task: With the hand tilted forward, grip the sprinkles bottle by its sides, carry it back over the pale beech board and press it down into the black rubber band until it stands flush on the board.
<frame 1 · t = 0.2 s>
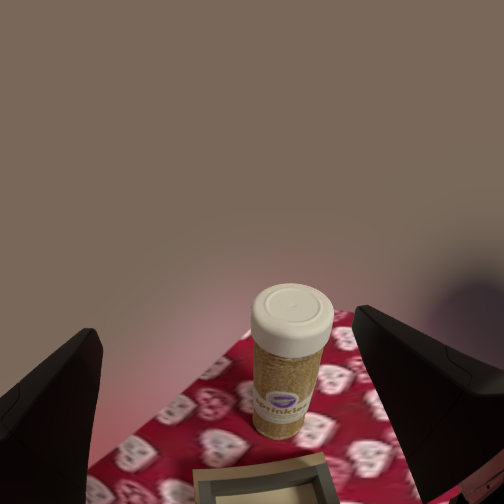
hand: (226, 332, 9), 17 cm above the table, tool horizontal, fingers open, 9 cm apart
sprinkles bottle: (278, 420, 22), on the table
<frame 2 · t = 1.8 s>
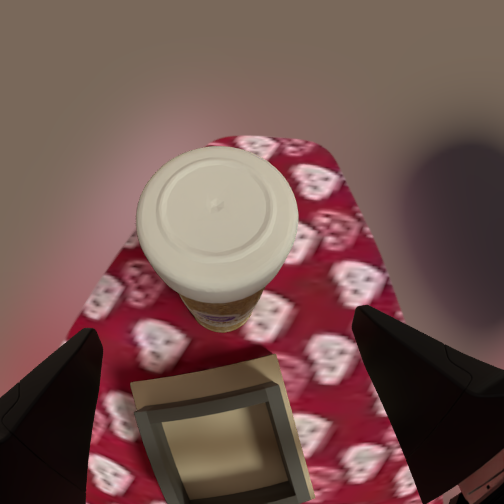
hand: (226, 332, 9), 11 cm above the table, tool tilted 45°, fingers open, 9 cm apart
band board: (224, 447, 16), on the table
sprinkles bottle: (222, 301, 20), on the table
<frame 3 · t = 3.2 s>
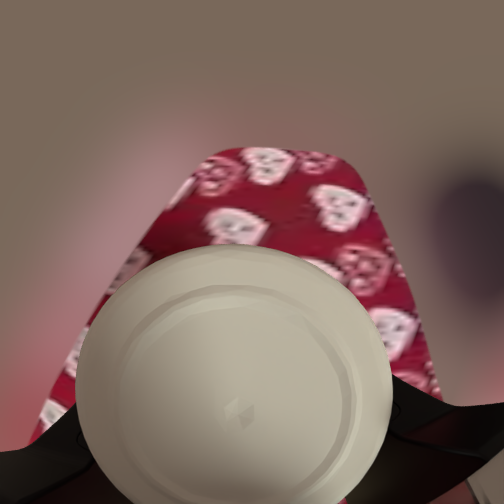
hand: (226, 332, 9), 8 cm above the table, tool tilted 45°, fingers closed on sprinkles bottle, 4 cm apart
sprinkles bottle: (229, 364, 16), on the table, touching gripper
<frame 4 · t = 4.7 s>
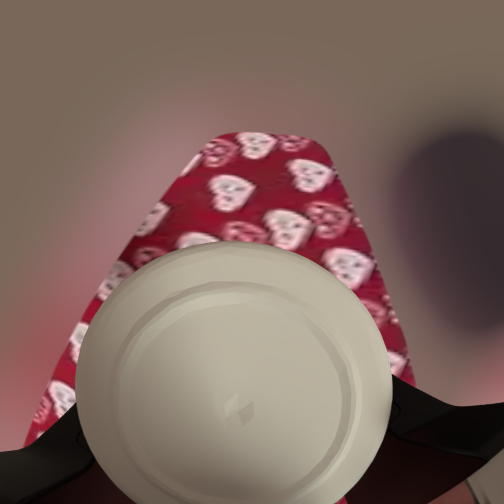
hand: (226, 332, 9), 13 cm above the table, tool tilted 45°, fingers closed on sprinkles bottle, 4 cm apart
sprinkles bottle: (229, 363, 16), point 5 cm above the table, touching gripper
when the fingers open (9 cm above the table, at t = 6.3 s): sprinkles bottle stays where it is, resting on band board.
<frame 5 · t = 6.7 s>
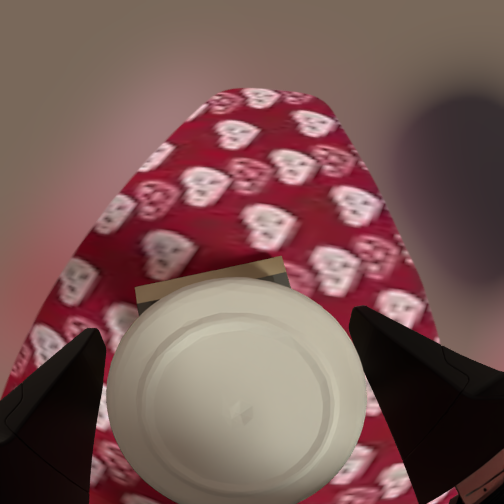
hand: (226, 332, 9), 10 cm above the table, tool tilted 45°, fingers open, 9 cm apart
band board: (229, 362, 17), on the table
sprinkles bottle: (229, 366, 16), point 1 cm above the table, touching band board
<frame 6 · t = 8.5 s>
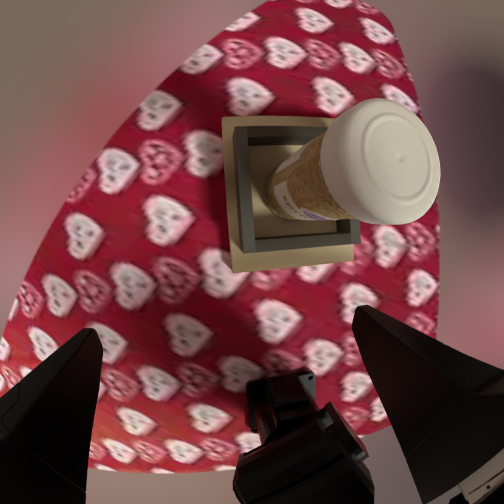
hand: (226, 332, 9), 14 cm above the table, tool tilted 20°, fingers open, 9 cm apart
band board: (288, 190, 22), on the table
sprinkles bottle: (291, 191, 21), point 1 cm above the table, touching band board
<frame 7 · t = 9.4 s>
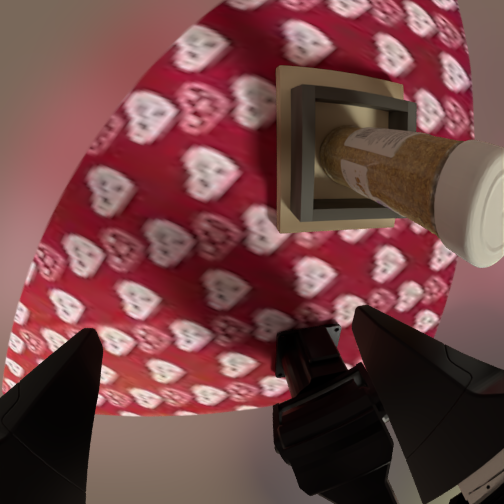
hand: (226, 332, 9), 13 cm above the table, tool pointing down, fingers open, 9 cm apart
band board: (341, 150, 20), on the table
sprinkles bottle: (346, 154, 19), point 1 cm above the table, touching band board
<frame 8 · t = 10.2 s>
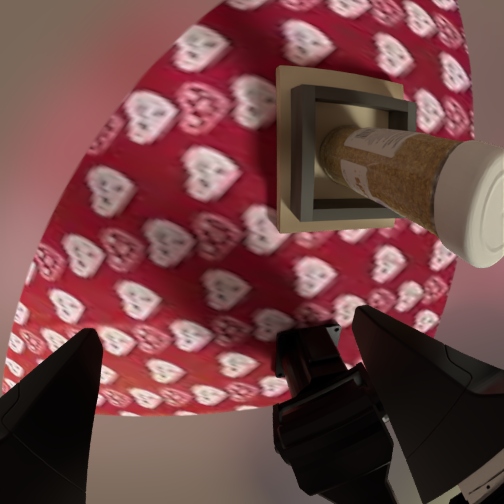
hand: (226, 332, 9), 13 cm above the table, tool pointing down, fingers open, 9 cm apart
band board: (341, 150, 20), on the table
sprinkles bottle: (346, 154, 19), point 1 cm above the table, touching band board
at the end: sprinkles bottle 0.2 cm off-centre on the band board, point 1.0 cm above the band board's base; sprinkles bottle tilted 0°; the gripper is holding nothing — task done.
